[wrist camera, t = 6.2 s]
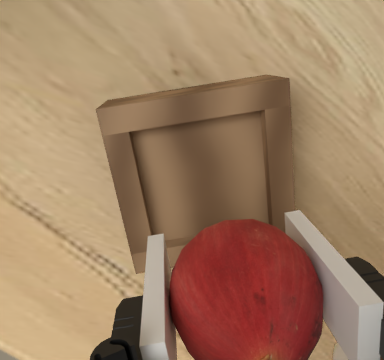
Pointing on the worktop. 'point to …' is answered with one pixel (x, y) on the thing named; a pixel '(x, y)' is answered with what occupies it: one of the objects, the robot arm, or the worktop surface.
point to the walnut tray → (199, 159)
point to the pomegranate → (246, 294)
